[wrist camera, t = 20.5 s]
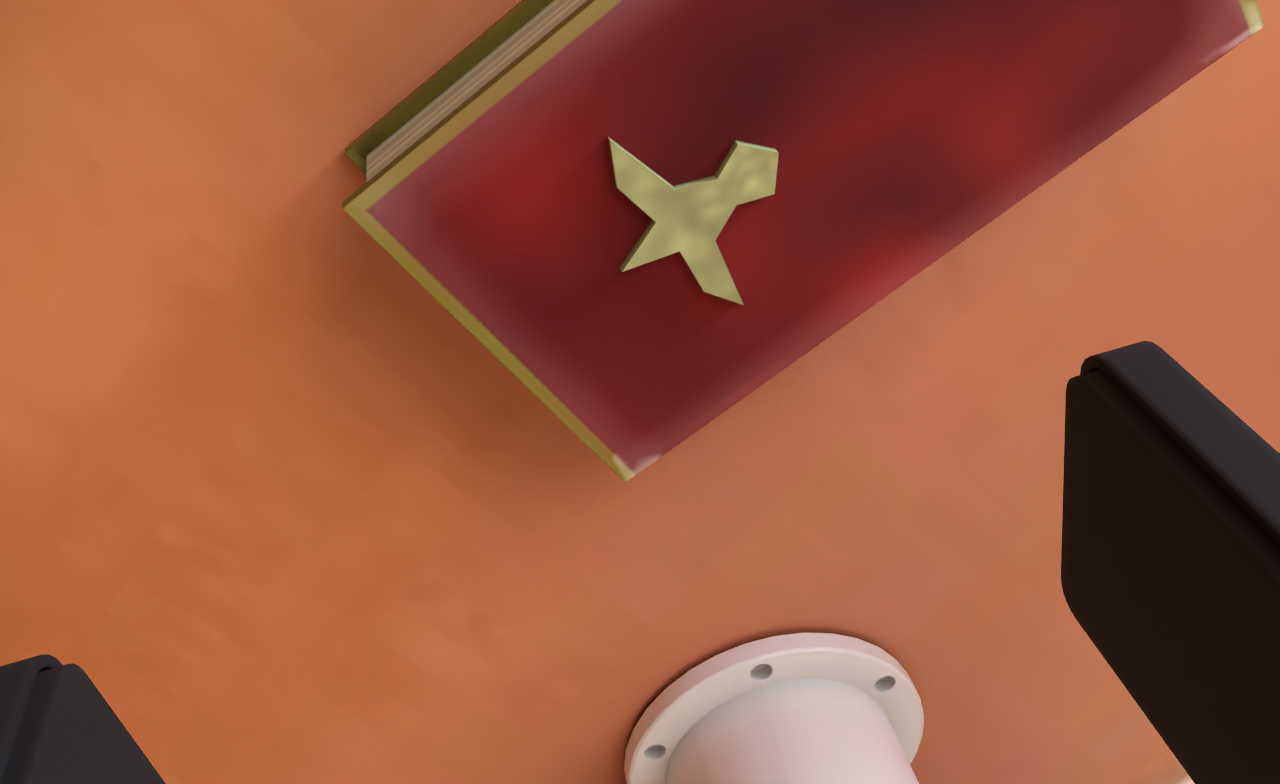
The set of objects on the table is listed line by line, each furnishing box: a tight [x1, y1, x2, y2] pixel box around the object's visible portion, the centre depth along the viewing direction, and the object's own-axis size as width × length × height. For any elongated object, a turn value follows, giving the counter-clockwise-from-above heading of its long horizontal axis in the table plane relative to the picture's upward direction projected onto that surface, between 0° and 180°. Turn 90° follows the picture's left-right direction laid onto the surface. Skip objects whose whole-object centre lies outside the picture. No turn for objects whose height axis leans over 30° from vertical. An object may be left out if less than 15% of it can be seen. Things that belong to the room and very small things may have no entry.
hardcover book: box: [342, 0, 1265, 482], centre depth 30 cm, size 12×21×4 cm, turn 126°
